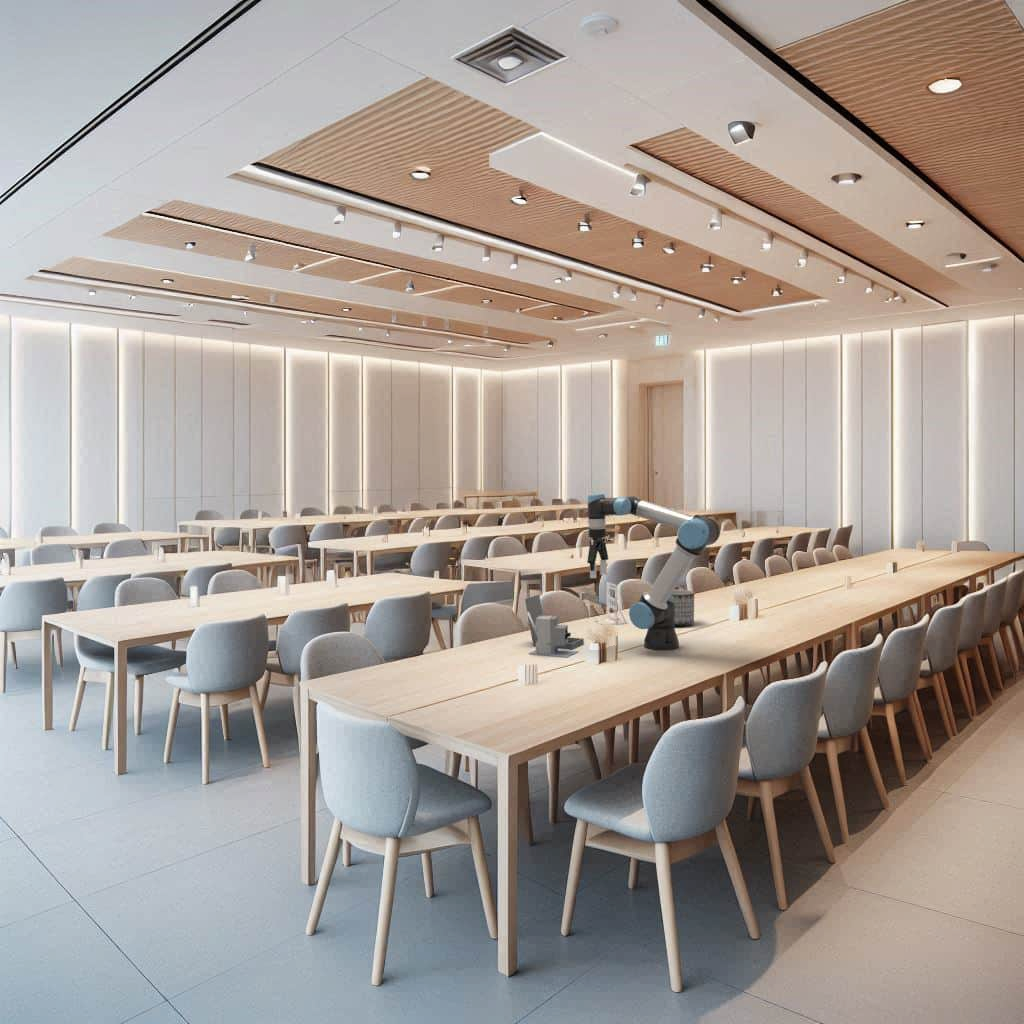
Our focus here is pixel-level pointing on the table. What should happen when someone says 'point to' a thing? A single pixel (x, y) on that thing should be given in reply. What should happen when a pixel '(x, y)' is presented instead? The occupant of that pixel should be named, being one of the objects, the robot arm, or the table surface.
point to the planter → (683, 607)
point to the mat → (557, 653)
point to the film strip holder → (609, 605)
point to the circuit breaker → (550, 634)
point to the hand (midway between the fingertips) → (598, 576)
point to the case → (536, 611)
